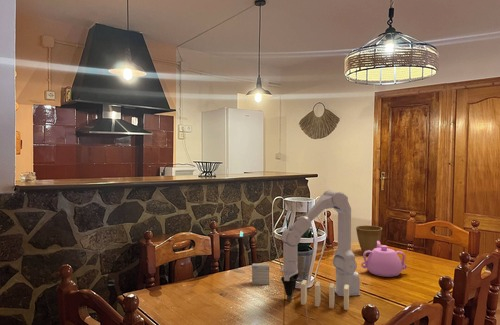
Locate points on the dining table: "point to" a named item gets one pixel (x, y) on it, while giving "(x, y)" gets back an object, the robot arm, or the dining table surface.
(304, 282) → the domino
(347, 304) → the domino
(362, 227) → the plant pot
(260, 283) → the medicine box
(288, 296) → the domino
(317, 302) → the domino
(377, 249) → the teapot
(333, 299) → the domino
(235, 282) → the dining table surface
